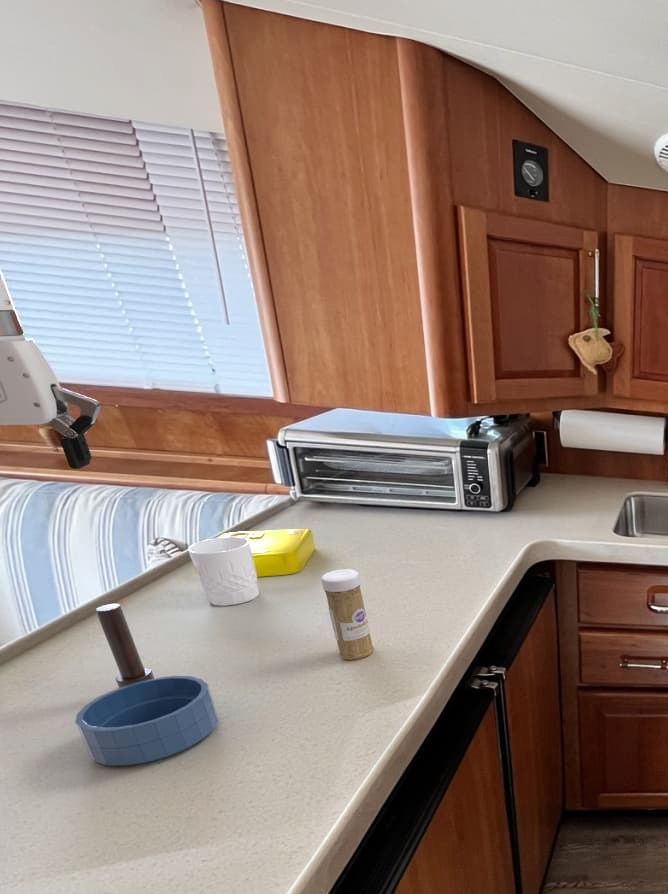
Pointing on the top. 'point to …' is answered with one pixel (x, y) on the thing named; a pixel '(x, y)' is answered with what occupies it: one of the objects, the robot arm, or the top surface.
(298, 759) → the top surface
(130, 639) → the muddler
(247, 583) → the white cup
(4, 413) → the robot arm
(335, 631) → the sprinkles bottle
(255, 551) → the yellow box
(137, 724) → the bowl
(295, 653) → the top surface
